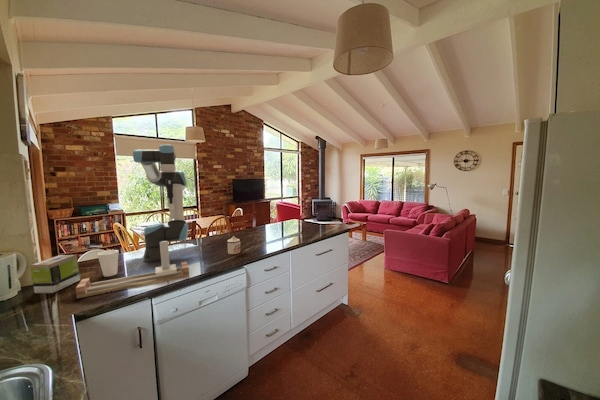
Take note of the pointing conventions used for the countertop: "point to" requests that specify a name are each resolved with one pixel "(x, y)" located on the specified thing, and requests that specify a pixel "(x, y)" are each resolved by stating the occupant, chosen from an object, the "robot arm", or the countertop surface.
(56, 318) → the countertop surface
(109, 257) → the foam cup
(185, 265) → the rail
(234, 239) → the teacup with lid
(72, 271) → the tea box
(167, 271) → the carriage
